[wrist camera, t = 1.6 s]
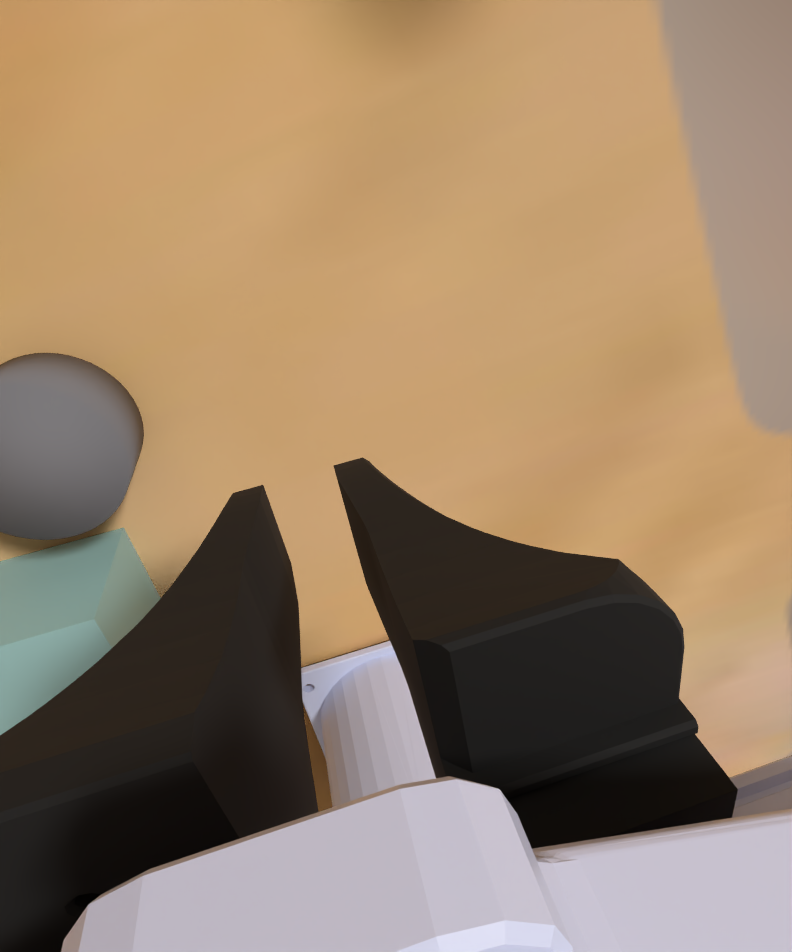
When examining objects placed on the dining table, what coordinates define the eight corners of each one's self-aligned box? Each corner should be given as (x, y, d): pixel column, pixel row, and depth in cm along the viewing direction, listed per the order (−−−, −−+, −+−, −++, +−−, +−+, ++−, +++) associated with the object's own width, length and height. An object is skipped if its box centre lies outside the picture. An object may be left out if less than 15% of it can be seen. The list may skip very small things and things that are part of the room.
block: (169, 614, 24) (153, 715, 19) (57, 647, 23) (15, 758, 19) (123, 526, 21) (93, 618, 17) (-2, 561, 21) (-66, 665, 17)
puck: (166, 469, 21) (156, 513, 18) (23, 507, 20) (-9, 558, 18) (105, 334, 18) (83, 364, 16) (-60, 374, 18) (-112, 411, 15)
